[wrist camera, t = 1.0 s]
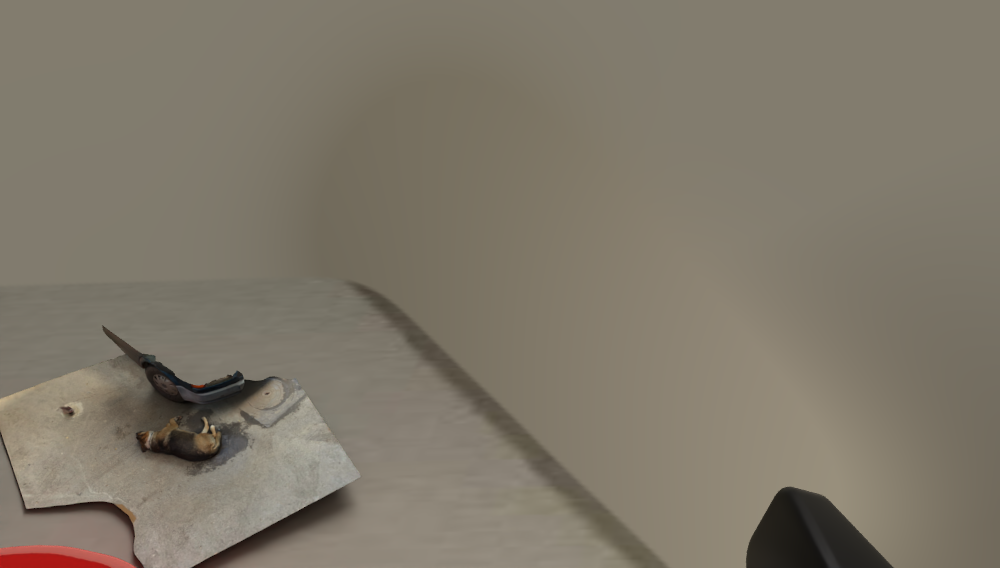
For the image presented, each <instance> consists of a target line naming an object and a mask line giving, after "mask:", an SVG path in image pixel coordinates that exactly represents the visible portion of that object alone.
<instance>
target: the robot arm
mask: <svg viewBox="0 0 1000 568" xmlns="http://www.w3.org/2000/svg"><path fill="white" fill-rule="evenodd" d="M746 568H893V567H892V566H891V565H890V564H889V563H888V561H886V559H885V558H884V557H883V556H882V555H881V554H880V553H879V552H878V551H877V550H876V549H875V548H874V547H873V546H872V545H871V544H870V543H869V542H868V541H867V539H866V538H864V536H863V535H862V534H861V533H860V532H859V531H858V530H857V529H856V528H855V527H854V526H853V525H852V524H851V523H850V522H849V521H848V520H847V519H846V517H845V516H844V515H843V514H842V513H841V512H840V511H839V510H838V509H837V508H836V507H835V506H834V505H833V504H832V503H831V502H830V501H829V500H828V499H827V498H826V497H824V496H822V495H820V494H817V493H813V492H809V491H805V490H801V489H798V488H794V487H785V488H782V489H781V490H780V491H779V492H778V493H777V494H776V496H775V497H774V499H773V501H772V502H771V504H770V506H769V507H768V509H767V511H766V513H765V514H764V516H763V518H762V520H761V522H760V523H759V525H758V527H757V529H756V530H755V532H754V534H753V536H752V538H751V540H750V542H749V546H748V550H747V557H746Z"/></svg>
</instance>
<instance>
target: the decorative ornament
mask: <svg viewBox="0 0 1000 568" xmlns="http://www.w3.org/2000/svg"><path fill="white" fill-rule="evenodd" d="M0 568H136V567H135V566H133V565H131V564H129V563H127V562H125V561H123V560H121V559H118V558H116V557H112V556H109V555H105V554H100V553H96V552H91V551H86V550H82V549H77V548H72V547H65V546H43V545H38V546H18V547H9V548H1V549H0Z"/></svg>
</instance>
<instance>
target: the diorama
mask: <svg viewBox="0 0 1000 568" xmlns="http://www.w3.org/2000/svg"><path fill="white" fill-rule="evenodd" d="M102 327H103V331H104V332H105V334H106V335H107V336H108V337H109V338H110V339H111V340H113V341H114V342H115V343H116V344H117V345H118V346H119V347H120V348H121V350H122V351H123V352H124V353H125V355H123V356H119V357H117V358H114V359H110V360H107V361H105V362H101V363H99V364H96V365H92V366H90V367H86V368H83V369H81V370H79V371H75V372H72V373H69V374H66V375H63V376H61V377H58V378H55V379H52V380H50V381H47V382H44V383H42V384H39V385H37V386H34V387H32V388H29V389H26V390H23V391H20V392H18V393H15V394H12V395H10V396H7V397H4V398H1V399H0V431H1V434H2V437H3V440H4V443H5V446H6V449H7V452H8V455H9V458H10V461H11V464H12V467H13V470H14V473H15V476H16V479H17V482H18V485H19V487H20V490H21V493H22V497H23V500H24V503H25V506H26V509H30V508H41V507H51V506H58V505H69V504H76V503H82V502H94V501H105V502H110V503H114V504H115V505H116V506H118V507H119V508H120V509H121V510H122V511H124V512H125V513H126V514H127V515H129V517H130V519H131V521H132V523H133V527H134V533H135V540H134V554H135V555H136V557H137V558H138V559H139V561H140V562H141V563H142V565H143V566H144V568H191V567H193V566H195V565H196V564H198V563H200V562H202V561H203V560H205V559H207V558H209V557H211V556H213V555H215V554H217V553H219V552H221V551H223V550H224V549H226V548H228V547H230V546H232V545H234V544H236V543H238V542H240V541H242V540H244V539H245V538H247V537H249V536H251V535H253V534H255V533H257V532H259V531H261V530H262V529H264V528H266V527H268V526H270V525H272V524H274V523H276V522H278V521H279V520H281V519H283V518H285V517H287V516H289V515H291V514H293V513H295V512H296V511H298V510H300V509H302V508H304V507H306V506H307V505H309V504H311V503H313V502H315V501H317V500H319V499H321V498H323V497H324V496H326V495H328V494H330V493H332V492H334V491H335V490H337V489H339V488H341V487H343V486H345V485H346V484H348V483H350V482H352V481H354V480H356V479H358V478H360V477H361V475H360V474H359V472H358V471H357V469H356V468H355V466H354V465H353V463H352V462H351V460H350V459H349V457H348V456H347V454H346V453H345V451H344V450H343V448H342V447H341V445H340V444H339V442H338V441H337V439H336V438H335V436H334V435H333V433H332V432H331V430H330V429H329V427H328V426H327V424H326V423H325V421H324V420H323V418H322V417H321V416H320V414H319V413H318V411H317V410H316V408H315V407H314V405H313V404H312V402H311V401H310V399H309V398H308V396H307V395H306V393H305V392H304V390H303V389H302V387H301V386H300V384H299V383H298V381H297V380H296V378H295V379H293V380H287V379H283V378H279V377H268V378H266V379H264V380H261V381H252V380H244V378H243V375H242V373H240V372H239V371H236V373H235V374H234V375H233V376H231V375H227V377H224V378H220V379H218V380H214V381H212V382H210V383H208V384H205V385H201V386H197V385H193V384H189V383H187V382H184V381H182V380H180V379H179V378H177V377H176V376H175V374H174V373H173V371H171V370H170V369H168V368H167V367H165V366H163V365H162V363H160V362H155V356H154V355H148V354H142V353H140V352H138V351H137V350H135V349H134V348H133V347H131V346H130V345H129V344H127V343H126V342H125V341H123V340H122V339H120V338H119V337H117V336H116V335H115V334H113V333H112V332H110V331H109V330H108V329H106V328H105V327H104V326H103V325H102Z"/></svg>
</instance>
